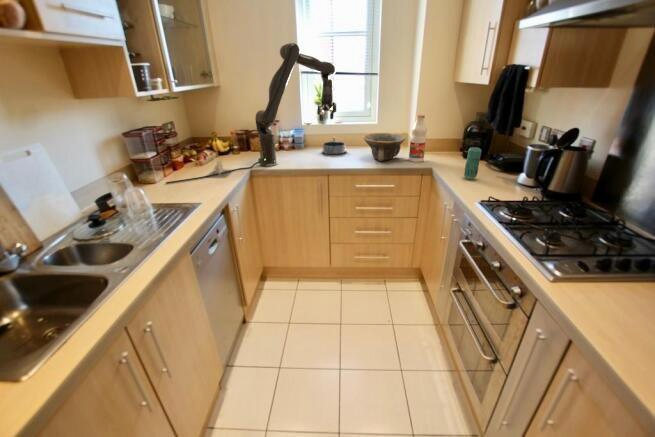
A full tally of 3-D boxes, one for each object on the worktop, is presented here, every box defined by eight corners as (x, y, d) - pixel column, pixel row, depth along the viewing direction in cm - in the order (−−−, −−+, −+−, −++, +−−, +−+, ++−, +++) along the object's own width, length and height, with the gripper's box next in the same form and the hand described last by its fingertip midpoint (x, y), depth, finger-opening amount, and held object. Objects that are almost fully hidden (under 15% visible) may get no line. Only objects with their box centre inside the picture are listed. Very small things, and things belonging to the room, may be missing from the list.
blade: (332, 152, 228) (332, 137, 224) (331, 150, 232) (331, 136, 228) (336, 151, 228) (336, 137, 224) (335, 150, 233) (335, 136, 228)
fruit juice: (425, 159, 206) (430, 114, 194) (421, 162, 199) (426, 116, 187) (411, 157, 211) (415, 114, 199) (406, 161, 203) (410, 116, 191)
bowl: (394, 166, 193) (396, 141, 187) (356, 161, 206) (356, 138, 199) (409, 156, 214) (411, 134, 207) (373, 152, 226) (374, 131, 220)
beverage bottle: (460, 178, 170) (466, 140, 161) (470, 176, 172) (476, 139, 164) (469, 181, 164) (476, 143, 156) (479, 179, 166) (486, 141, 158)
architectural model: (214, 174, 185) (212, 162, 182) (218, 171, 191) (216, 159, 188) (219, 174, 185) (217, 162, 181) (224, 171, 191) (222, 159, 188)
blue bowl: (330, 156, 220) (330, 147, 218) (318, 151, 233) (318, 143, 231) (350, 152, 228) (350, 144, 225) (337, 148, 241) (337, 140, 238)
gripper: (315, 95, 212) (314, 120, 213) (332, 91, 204) (331, 117, 205) (322, 98, 218) (321, 122, 219) (339, 95, 210) (338, 119, 211)
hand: (326, 119), depth 212 cm, fingers open, 8 cm apart
